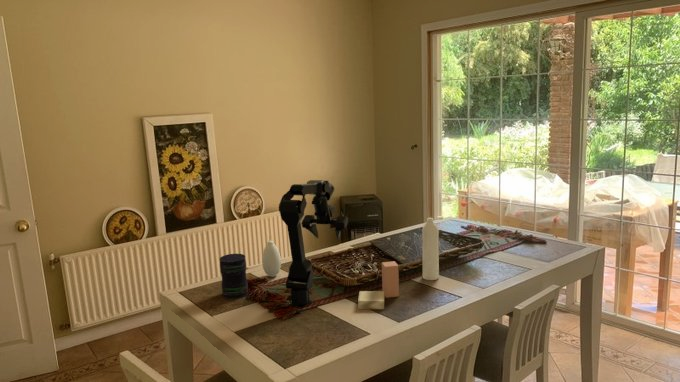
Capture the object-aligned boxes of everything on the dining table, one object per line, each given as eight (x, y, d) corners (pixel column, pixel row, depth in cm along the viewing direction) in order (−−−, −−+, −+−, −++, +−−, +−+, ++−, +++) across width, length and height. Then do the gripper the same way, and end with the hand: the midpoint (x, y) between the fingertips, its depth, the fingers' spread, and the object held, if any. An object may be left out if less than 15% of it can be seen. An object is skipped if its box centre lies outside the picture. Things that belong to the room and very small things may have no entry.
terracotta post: (385, 297, 186) (385, 266, 184) (382, 292, 191) (381, 262, 189) (398, 296, 187) (398, 265, 184) (395, 291, 192) (394, 261, 189)
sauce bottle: (260, 279, 210) (257, 237, 207) (267, 272, 218) (264, 232, 214) (278, 280, 208) (275, 238, 205) (284, 273, 216) (281, 233, 213)
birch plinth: (358, 309, 177) (358, 301, 176) (359, 298, 186) (359, 291, 185) (383, 309, 176) (383, 301, 175) (384, 298, 185) (384, 291, 184)
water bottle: (427, 281, 200) (426, 220, 195) (419, 276, 206) (419, 217, 201) (446, 278, 203) (446, 218, 198) (438, 273, 209) (438, 214, 204)
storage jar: (252, 290, 198) (249, 254, 196) (241, 300, 189) (238, 262, 186) (229, 288, 201) (226, 253, 198) (217, 298, 192) (214, 261, 189)
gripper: (348, 197, 206) (354, 227, 214) (306, 196, 211) (313, 225, 220) (341, 212, 197) (347, 244, 205) (297, 211, 203) (305, 241, 211)
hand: (328, 238), depth 210 cm, fingers open, 9 cm apart
